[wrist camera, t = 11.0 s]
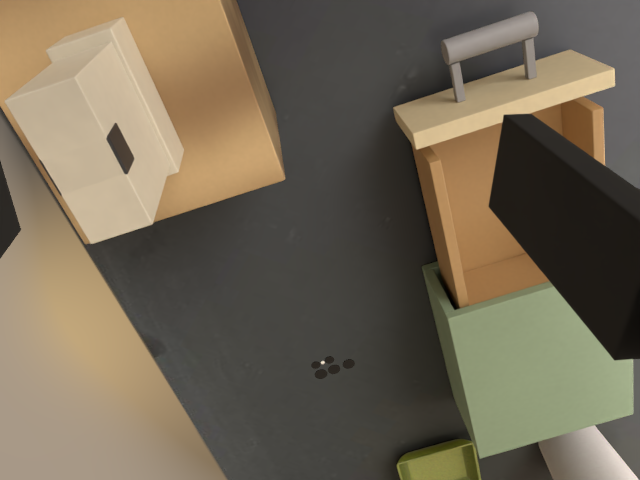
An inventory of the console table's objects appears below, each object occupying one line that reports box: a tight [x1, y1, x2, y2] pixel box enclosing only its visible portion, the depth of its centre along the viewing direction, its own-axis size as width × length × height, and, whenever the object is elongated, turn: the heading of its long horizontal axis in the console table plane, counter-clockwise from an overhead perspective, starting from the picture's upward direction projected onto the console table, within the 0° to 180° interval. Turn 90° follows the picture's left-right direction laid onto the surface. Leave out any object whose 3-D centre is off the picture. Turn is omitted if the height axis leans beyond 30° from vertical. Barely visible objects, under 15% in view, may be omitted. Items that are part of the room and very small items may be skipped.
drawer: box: [393, 11, 615, 309], centre depth 42 cm, size 21×13×6 cm, turn 17°
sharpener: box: [5, 17, 184, 244], centre depth 24 cm, size 7×3×9 cm, turn 17°
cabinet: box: [422, 261, 633, 459], centre depth 51 cm, size 18×15×8 cm
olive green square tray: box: [396, 439, 481, 480], centre depth 63 cm, size 9×9×2 cm
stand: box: [0, 0, 285, 244], centre depth 33 cm, size 14×12×12 cm
